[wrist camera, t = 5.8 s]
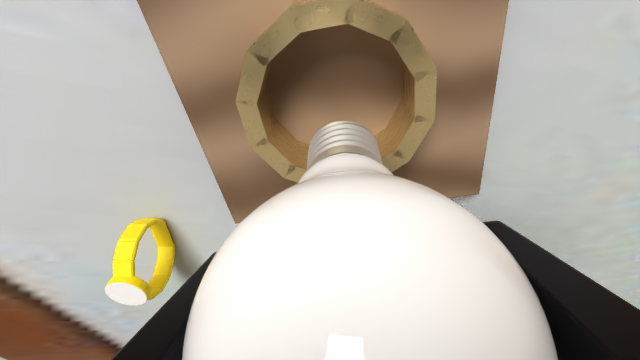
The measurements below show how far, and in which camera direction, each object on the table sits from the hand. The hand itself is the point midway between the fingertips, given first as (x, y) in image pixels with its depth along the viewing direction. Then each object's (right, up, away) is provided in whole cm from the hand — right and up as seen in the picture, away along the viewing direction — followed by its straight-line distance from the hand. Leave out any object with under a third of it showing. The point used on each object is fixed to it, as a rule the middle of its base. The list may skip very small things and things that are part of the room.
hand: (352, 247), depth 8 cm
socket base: (0, +7, +11) cm, 13 cm away
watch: (-14, -3, +18) cm, 23 cm away
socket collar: (0, +7, +11) cm, 13 cm away
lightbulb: (0, +3, +5) cm, 6 cm away
